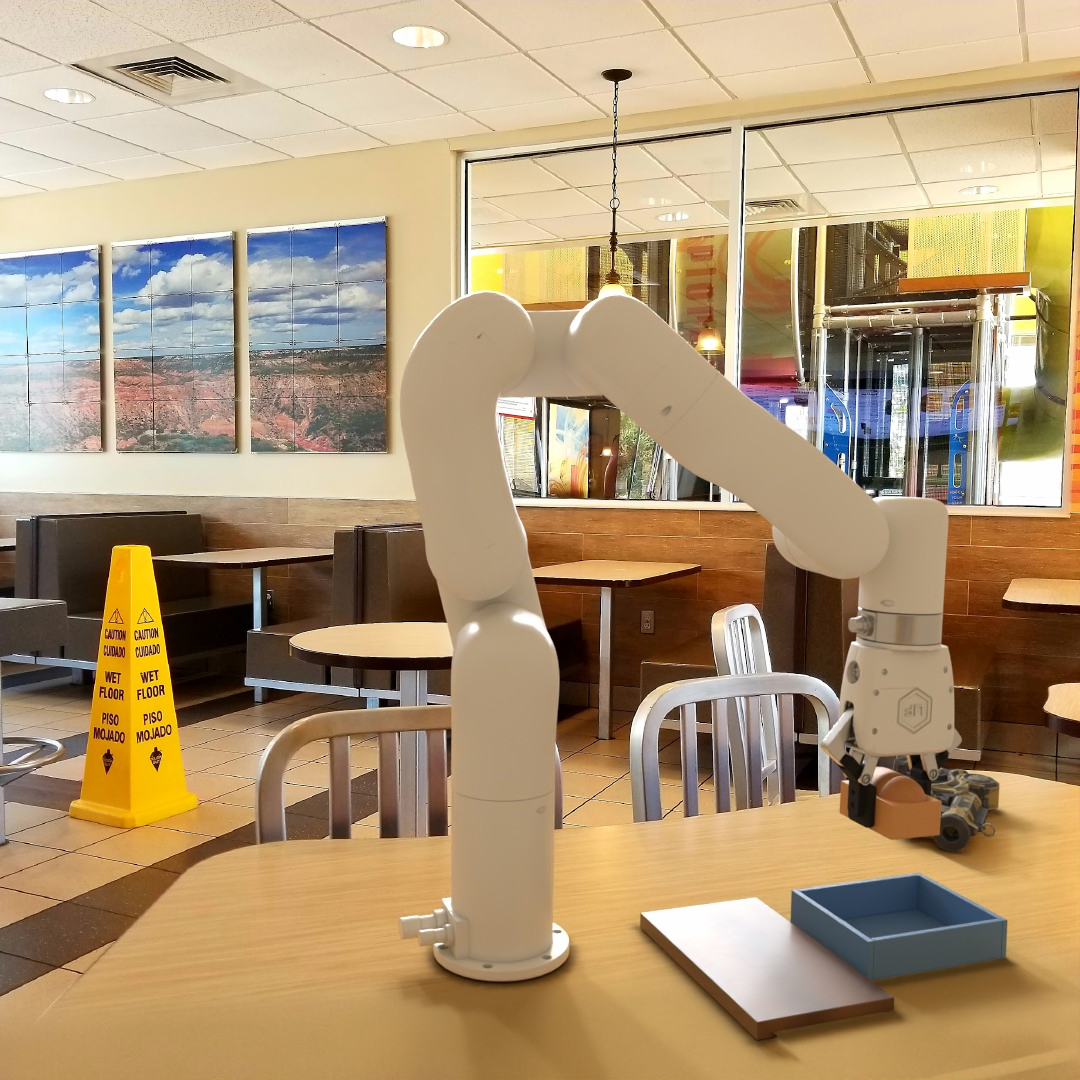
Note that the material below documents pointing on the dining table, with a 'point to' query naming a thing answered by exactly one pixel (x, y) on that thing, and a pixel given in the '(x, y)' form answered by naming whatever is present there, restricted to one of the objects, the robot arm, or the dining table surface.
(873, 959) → the bin
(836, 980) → the board
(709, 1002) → the dining table surface
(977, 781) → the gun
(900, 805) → the bread
